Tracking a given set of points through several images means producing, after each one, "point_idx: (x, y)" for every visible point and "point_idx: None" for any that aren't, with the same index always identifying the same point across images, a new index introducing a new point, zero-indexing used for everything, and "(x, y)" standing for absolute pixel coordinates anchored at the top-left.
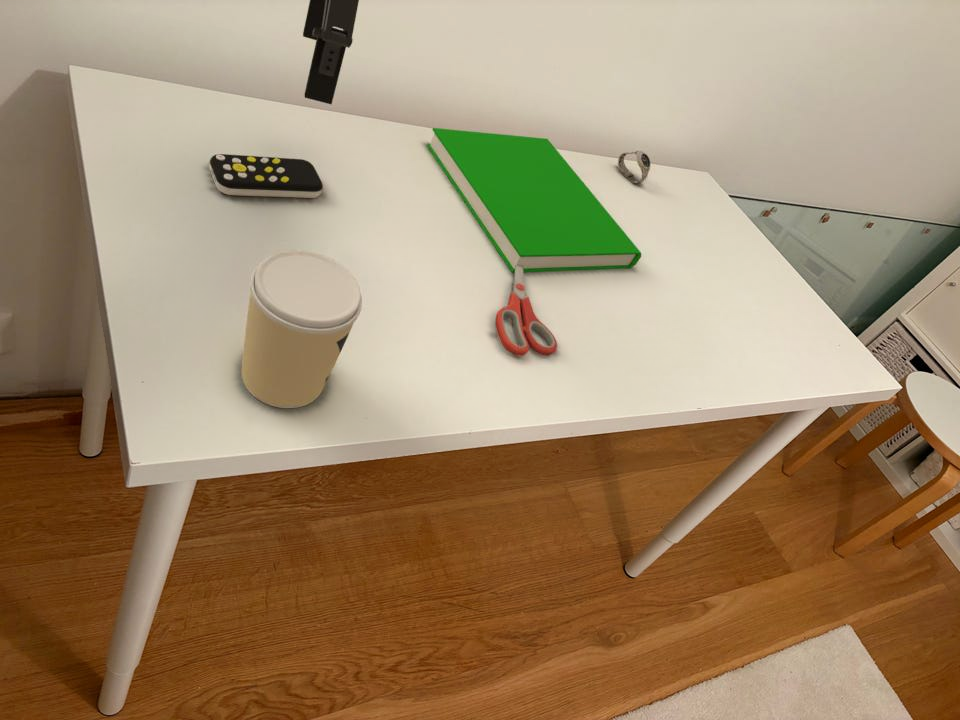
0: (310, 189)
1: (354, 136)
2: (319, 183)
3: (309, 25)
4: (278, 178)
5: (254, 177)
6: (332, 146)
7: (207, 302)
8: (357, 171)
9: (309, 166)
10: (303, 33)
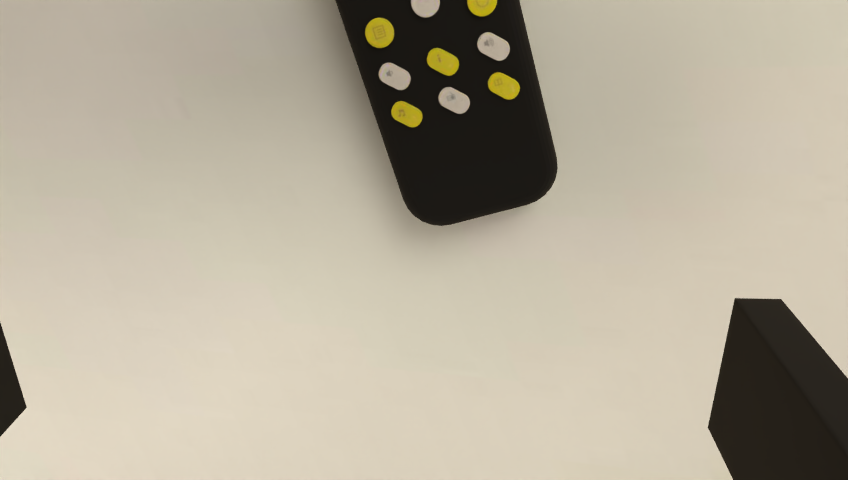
0: (401, 189)
1: None
2: (429, 218)
3: (761, 369)
4: (407, 93)
5: (381, 15)
6: (724, 259)
7: None
8: (603, 321)
9: (514, 191)
10: (755, 306)
